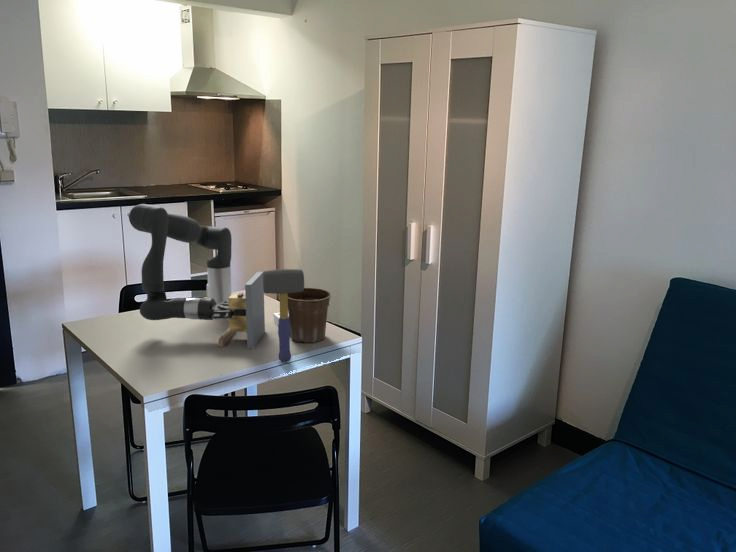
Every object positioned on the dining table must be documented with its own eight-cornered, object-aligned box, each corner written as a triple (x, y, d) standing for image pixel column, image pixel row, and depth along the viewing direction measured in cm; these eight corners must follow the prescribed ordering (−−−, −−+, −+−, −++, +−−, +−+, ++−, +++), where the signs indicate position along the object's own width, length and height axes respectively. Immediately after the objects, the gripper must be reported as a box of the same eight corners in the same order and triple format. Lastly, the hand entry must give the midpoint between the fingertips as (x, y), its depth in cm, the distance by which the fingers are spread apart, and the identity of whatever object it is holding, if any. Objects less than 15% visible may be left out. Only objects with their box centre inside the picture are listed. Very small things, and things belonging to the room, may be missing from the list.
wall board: (218, 347, 202) (215, 283, 197) (232, 329, 219) (230, 271, 214) (253, 348, 201) (251, 284, 196) (264, 330, 219) (263, 271, 213)
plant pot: (340, 338, 212) (340, 294, 208) (302, 349, 201) (302, 302, 197) (313, 327, 223) (312, 285, 220) (276, 336, 213) (275, 292, 209)
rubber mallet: (266, 367, 185) (263, 273, 178) (264, 358, 192) (261, 267, 185) (306, 364, 188) (305, 271, 181) (302, 355, 195) (301, 265, 188)
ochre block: (229, 331, 207) (228, 295, 204) (233, 326, 212) (232, 291, 209) (249, 332, 207) (248, 296, 204) (253, 327, 212) (252, 292, 209)
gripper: (192, 304, 201) (243, 305, 200) (206, 292, 214) (253, 294, 214) (193, 325, 202) (243, 327, 202) (206, 313, 216) (253, 314, 215)
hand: (248, 310), depth 208 cm, fingers closed on ochre block, 5 cm apart
